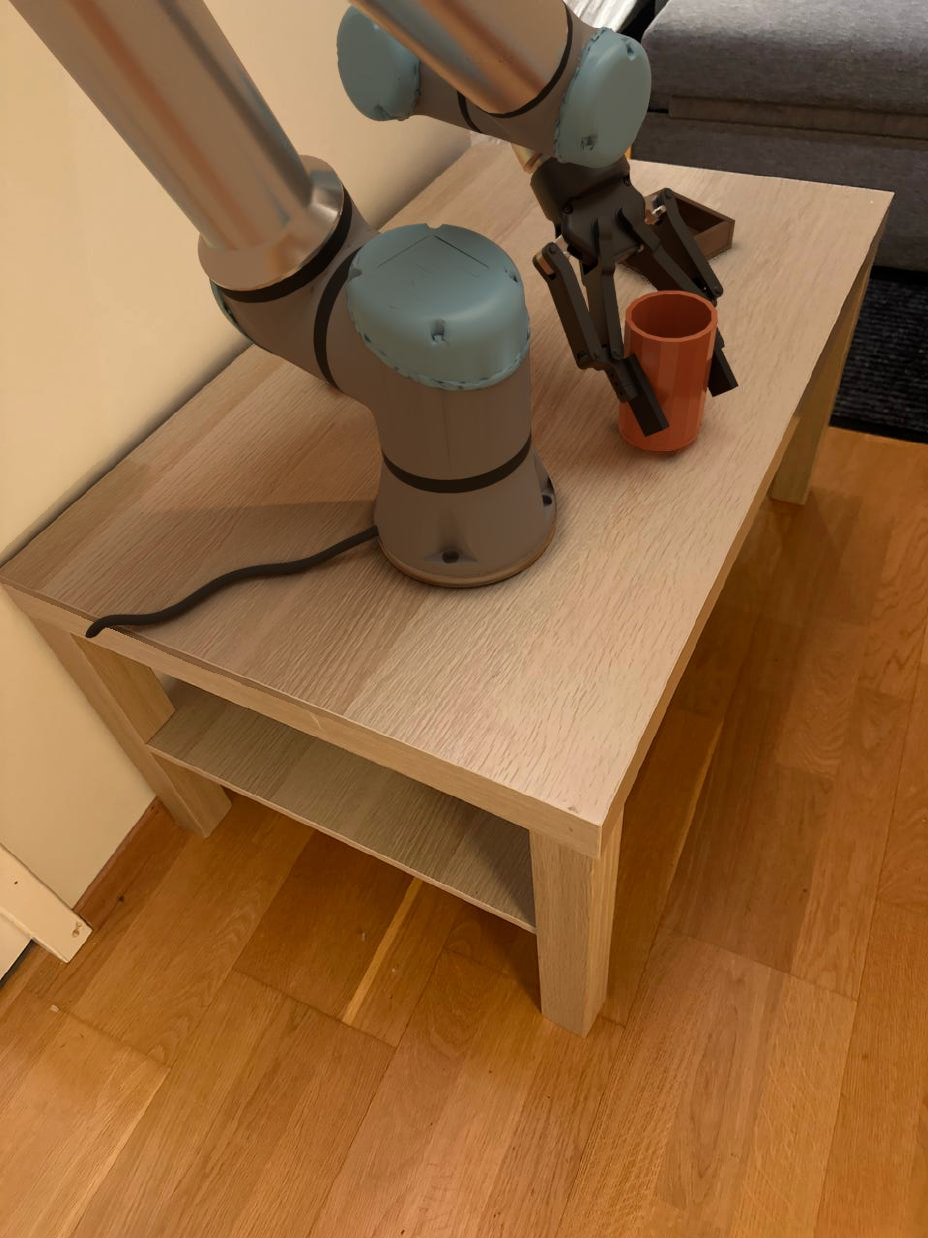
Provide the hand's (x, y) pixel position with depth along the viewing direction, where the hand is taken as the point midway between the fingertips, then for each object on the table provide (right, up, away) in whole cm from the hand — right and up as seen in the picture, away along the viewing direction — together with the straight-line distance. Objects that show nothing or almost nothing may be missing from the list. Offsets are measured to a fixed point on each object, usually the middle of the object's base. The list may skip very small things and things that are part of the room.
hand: (691, 410), depth 75 cm
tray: (+3, +24, +24) cm, 34 cm away
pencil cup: (-2, 0, +5) cm, 5 cm away
